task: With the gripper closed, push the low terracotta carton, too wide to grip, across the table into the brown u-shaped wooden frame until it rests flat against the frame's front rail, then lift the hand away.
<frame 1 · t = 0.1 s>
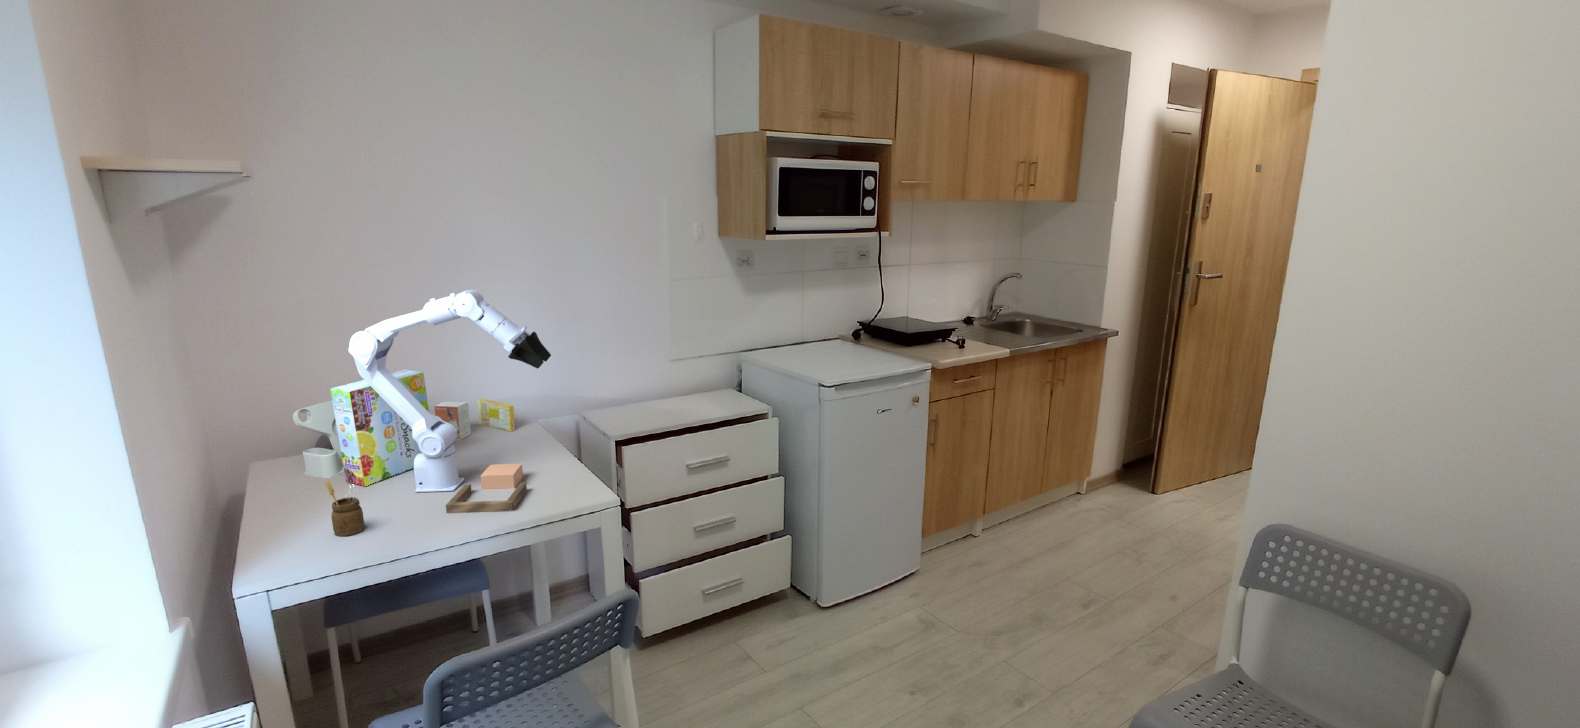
hand: (544, 361, 183), 32 cm above the table, tool tilted 50°, fingers open, 7 cm apart
candy box: (496, 427, 236), on the table
snack box: (391, 472, 198), on the table
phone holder: (343, 467, 202), on the table
brown u-shaped wooden frame: (489, 500, 179), on the table
carton: (503, 484, 190), on the table
utensil holder: (349, 531, 162), on the table
small box: (454, 437, 227), on the table
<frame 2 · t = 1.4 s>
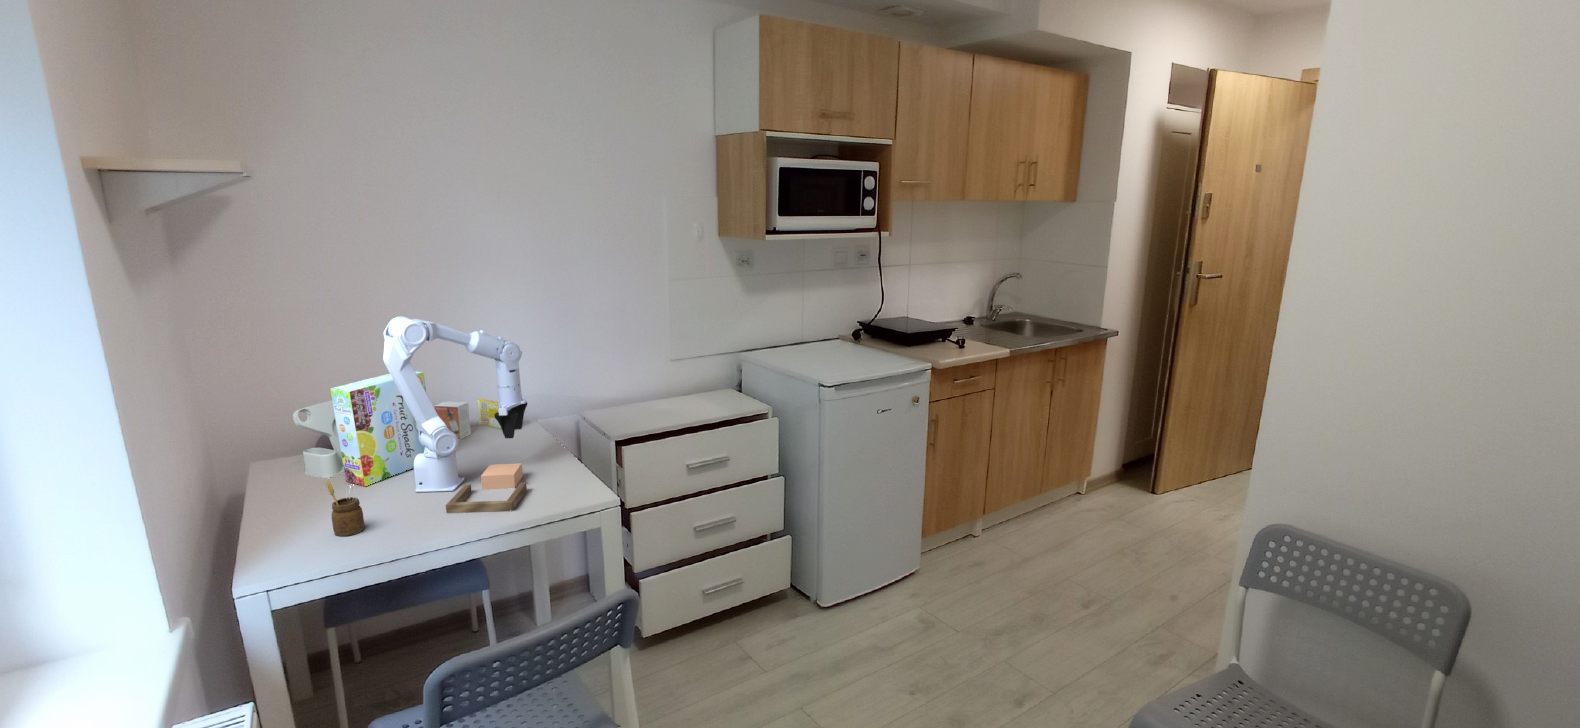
hand: (513, 433, 199), 9 cm above the table, tool pointing down, fingers open, 7 cm apart
nothing on the table moved.
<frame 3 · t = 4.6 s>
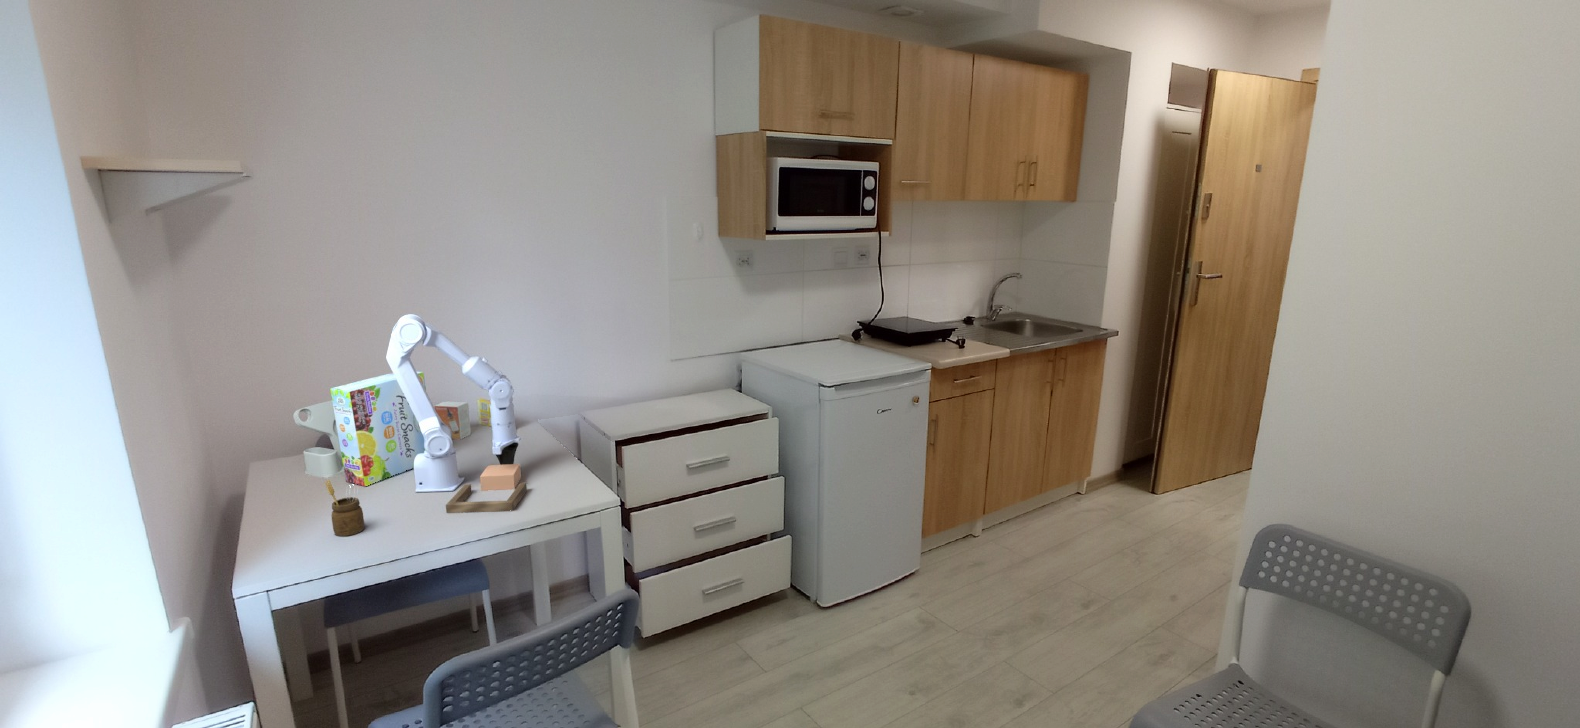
hand: (507, 471, 194), 1 cm above the table, tool pointing down, fingers closed
nothing on the table moved.
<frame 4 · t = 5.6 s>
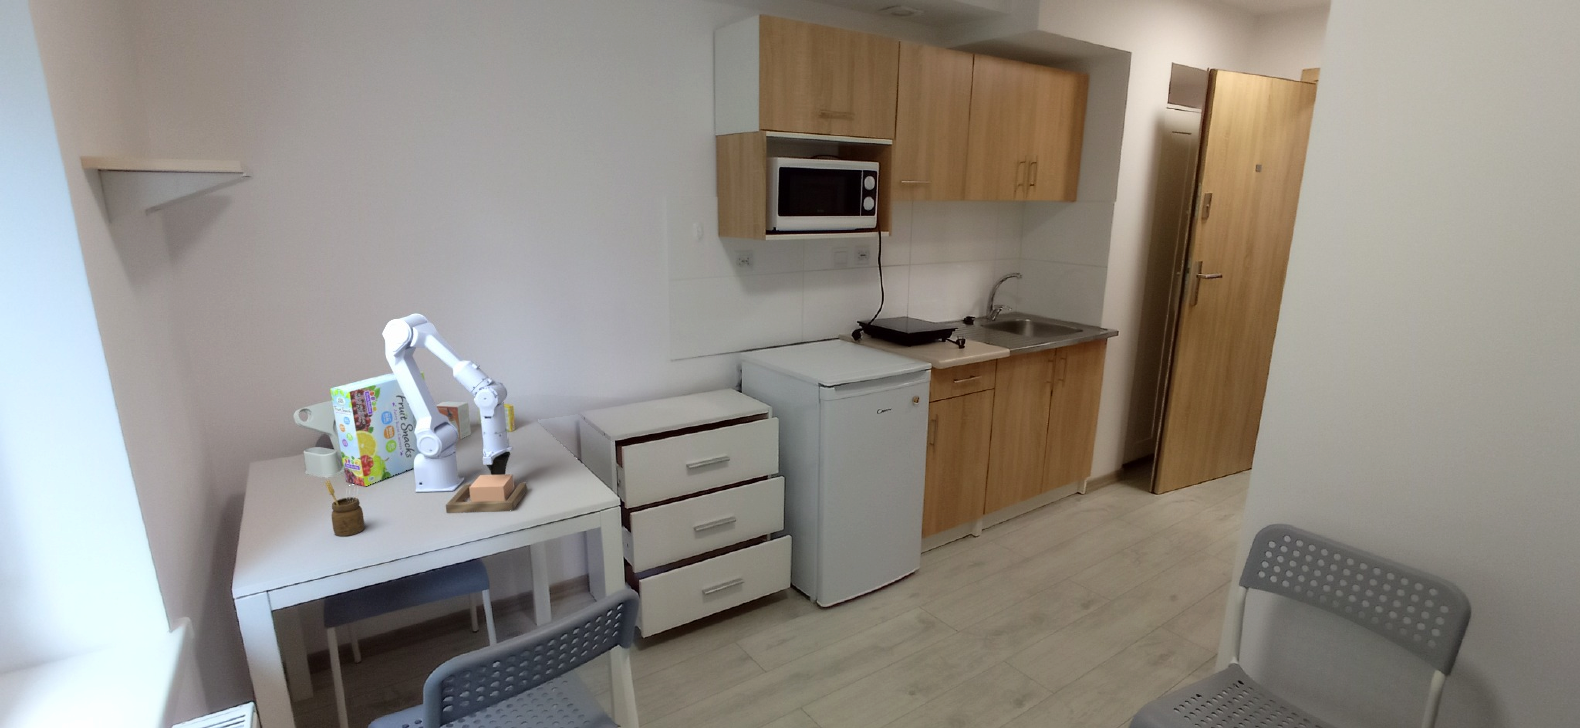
hand: (499, 481, 187), 1 cm above the table, tool pointing down, fingers closed
carton: (492, 495, 182), on the table, touching gripper
everything else where it was.
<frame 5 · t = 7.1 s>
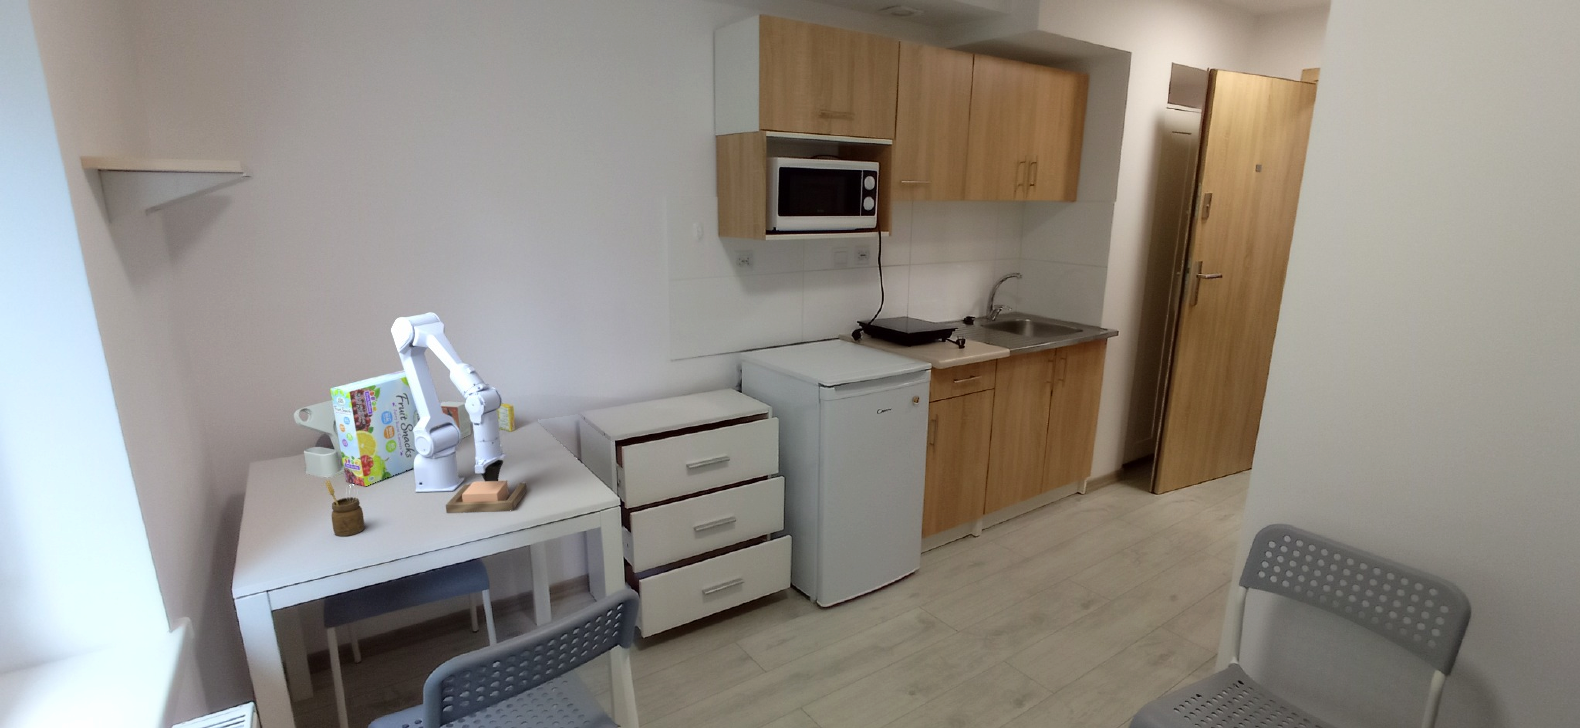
hand: (492, 490, 181), 1 cm above the table, tool pointing down, fingers closed, pressing on carton
carton: (486, 503, 177), on the table, touching brown u-shaped wooden frame, gripper
everything else where it was.
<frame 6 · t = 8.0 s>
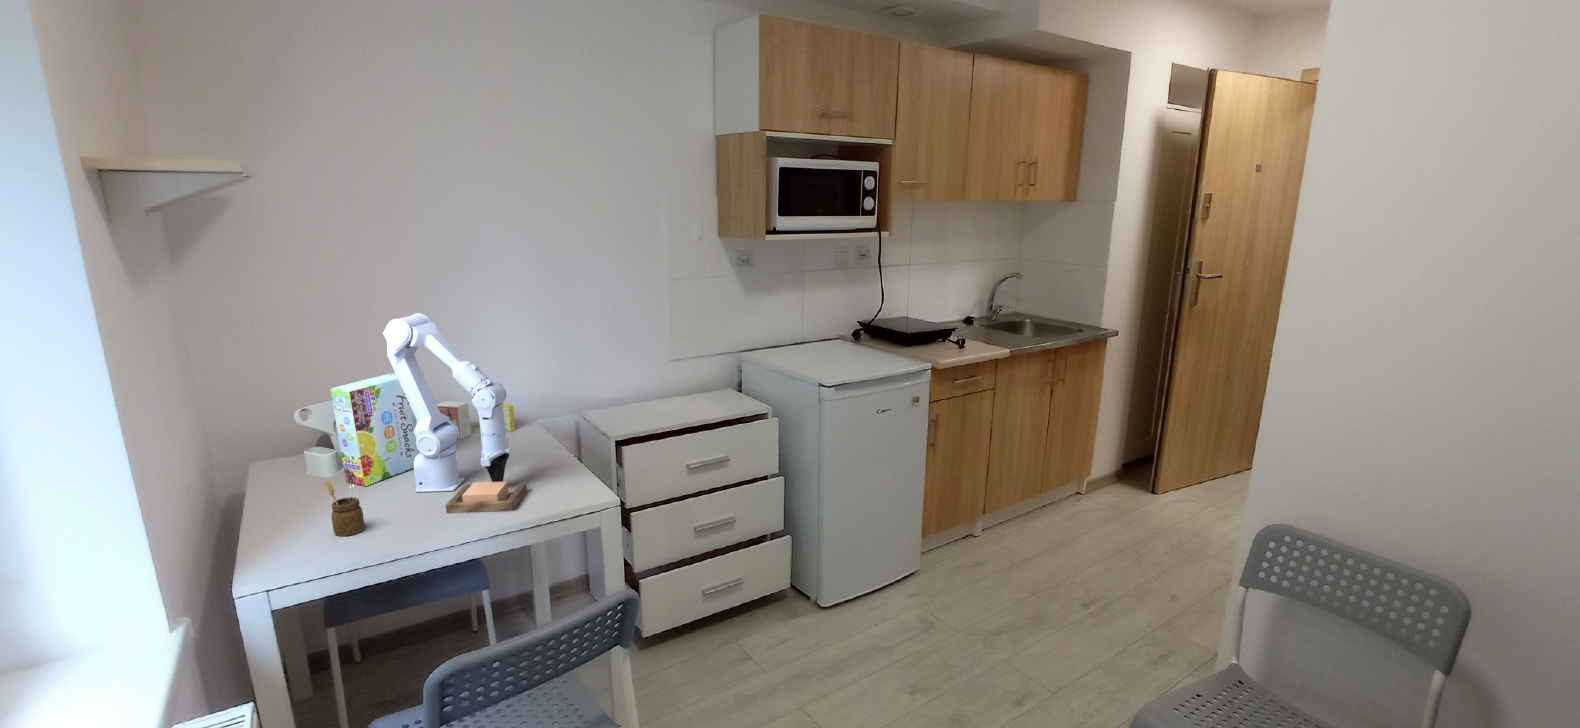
hand: (497, 483, 186), 1 cm above the table, tool pointing down, fingers closed
carton: (486, 503, 177), on the table
everything else where it was.
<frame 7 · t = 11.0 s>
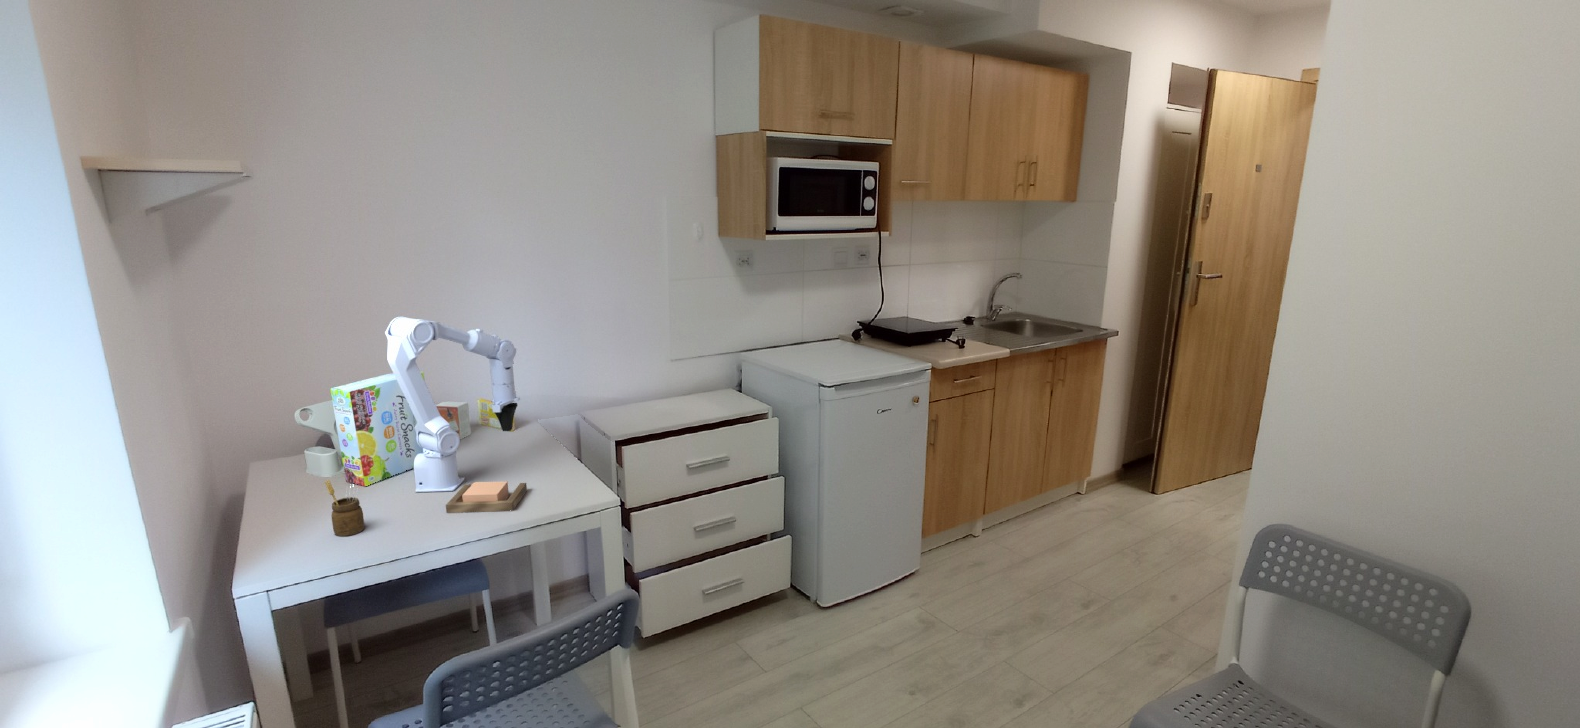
hand: (507, 430, 202), 9 cm above the table, tool pointing down, fingers closed
nothing on the table moved.
at the end: carton 0.4 cm from the target spot, on the table; carton tilted 0°; the gripper is holding nothing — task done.
